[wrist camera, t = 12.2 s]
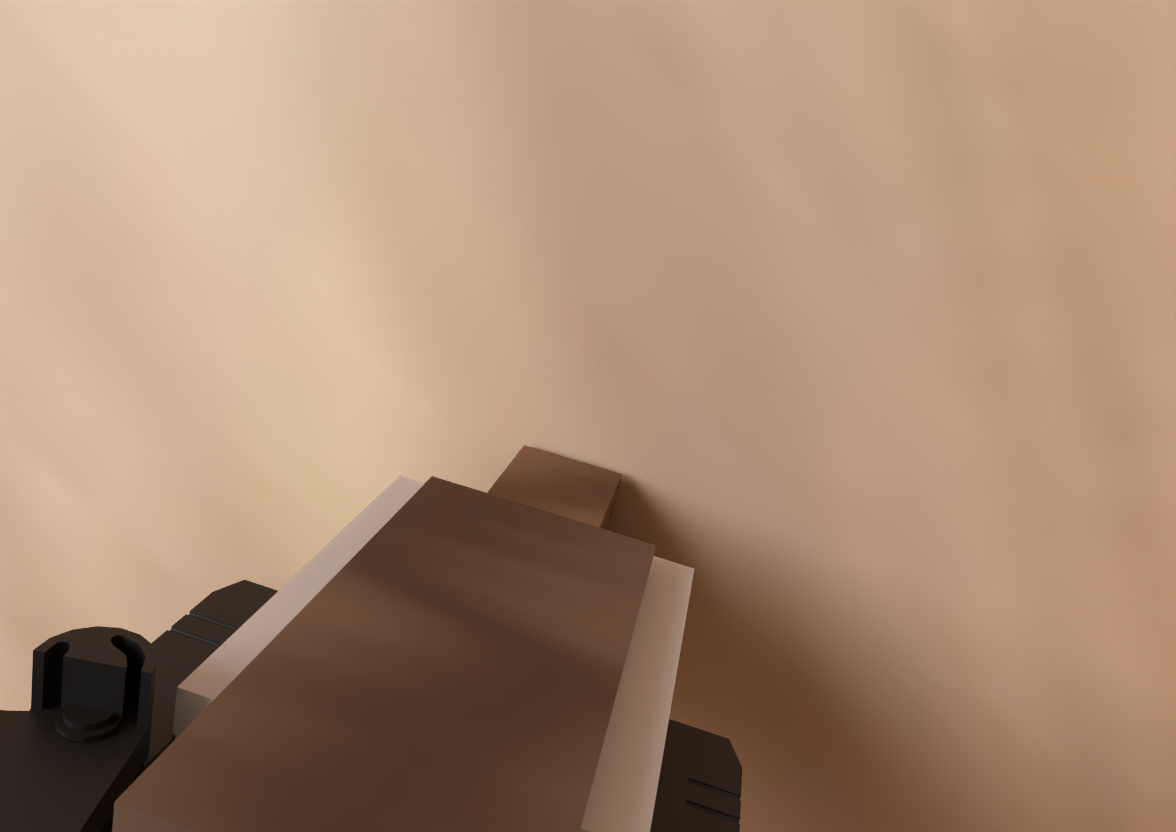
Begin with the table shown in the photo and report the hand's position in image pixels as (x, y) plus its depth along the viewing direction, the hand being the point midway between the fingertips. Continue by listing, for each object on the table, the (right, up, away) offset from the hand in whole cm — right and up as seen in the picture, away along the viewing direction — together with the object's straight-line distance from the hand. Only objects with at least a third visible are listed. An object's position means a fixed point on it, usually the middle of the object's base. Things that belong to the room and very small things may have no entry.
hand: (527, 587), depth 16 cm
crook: (-6, -8, +6) cm, 12 cm away
